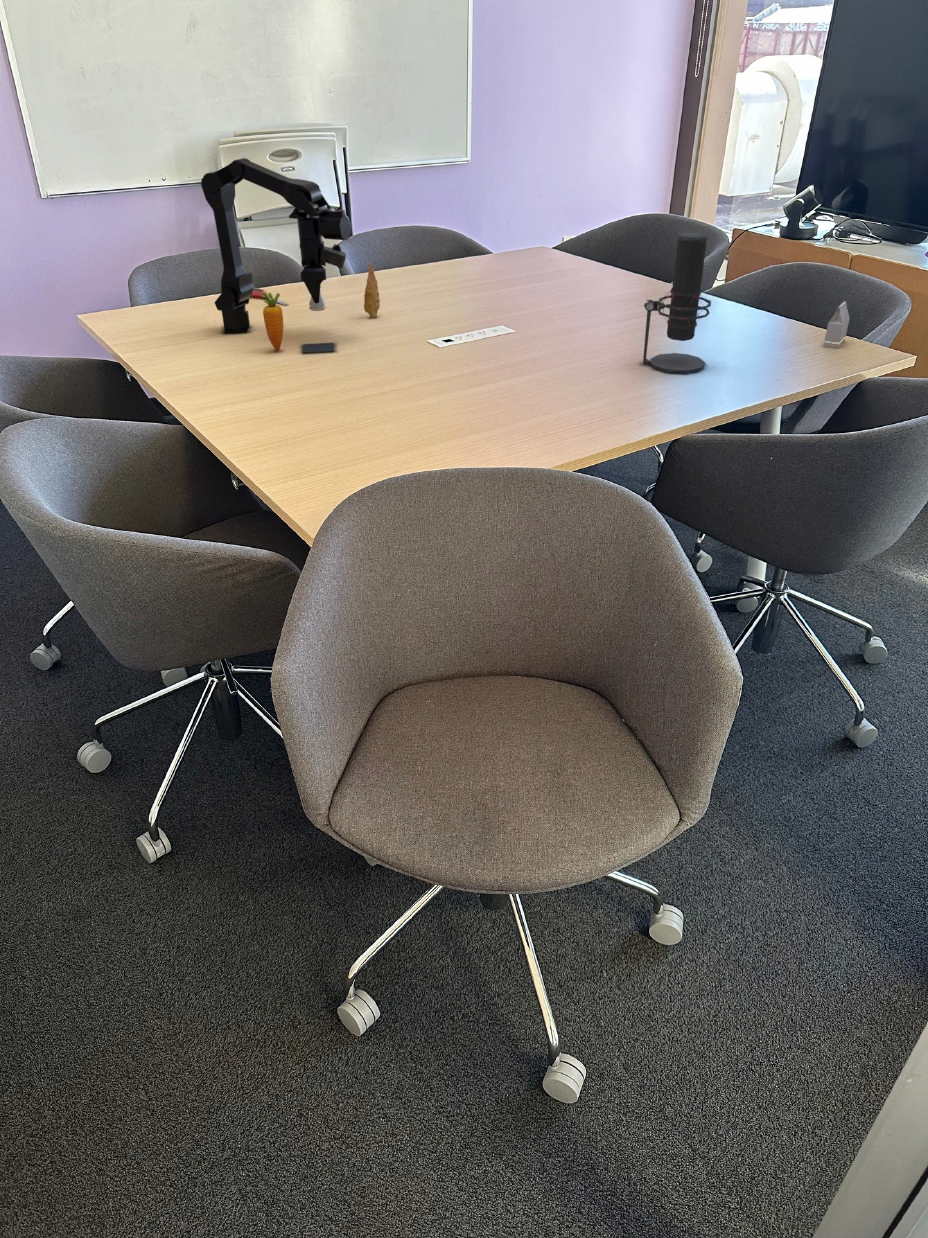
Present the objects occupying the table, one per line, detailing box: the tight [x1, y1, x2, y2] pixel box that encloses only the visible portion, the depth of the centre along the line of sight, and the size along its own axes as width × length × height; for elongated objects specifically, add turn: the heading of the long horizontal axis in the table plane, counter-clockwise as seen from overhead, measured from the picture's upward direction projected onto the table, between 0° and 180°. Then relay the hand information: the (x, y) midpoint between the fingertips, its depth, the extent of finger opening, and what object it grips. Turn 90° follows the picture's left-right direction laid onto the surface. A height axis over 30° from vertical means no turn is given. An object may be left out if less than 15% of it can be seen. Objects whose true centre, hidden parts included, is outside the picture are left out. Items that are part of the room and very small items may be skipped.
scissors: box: [250, 287, 287, 306], centre depth 277 cm, size 8×21×2 cm, turn 58°
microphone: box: [642, 232, 712, 375], centre depth 212 cm, size 14×13×30 cm
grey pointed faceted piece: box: [823, 301, 851, 349], centre depth 230 cm, size 4×7×10 cm, turn 147°
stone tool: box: [363, 262, 381, 319], centre depth 254 cm, size 5×2×15 cm, turn 141°
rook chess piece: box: [308, 285, 327, 312], centre depth 235 cm, size 4×4×8 cm
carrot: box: [262, 290, 284, 352], centre depth 229 cm, size 5×5×15 cm
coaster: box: [302, 342, 335, 355], centre depth 234 cm, size 8×7×1 cm
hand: (316, 301), depth 236 cm, fingers closed on rook chess piece, 3 cm apart
